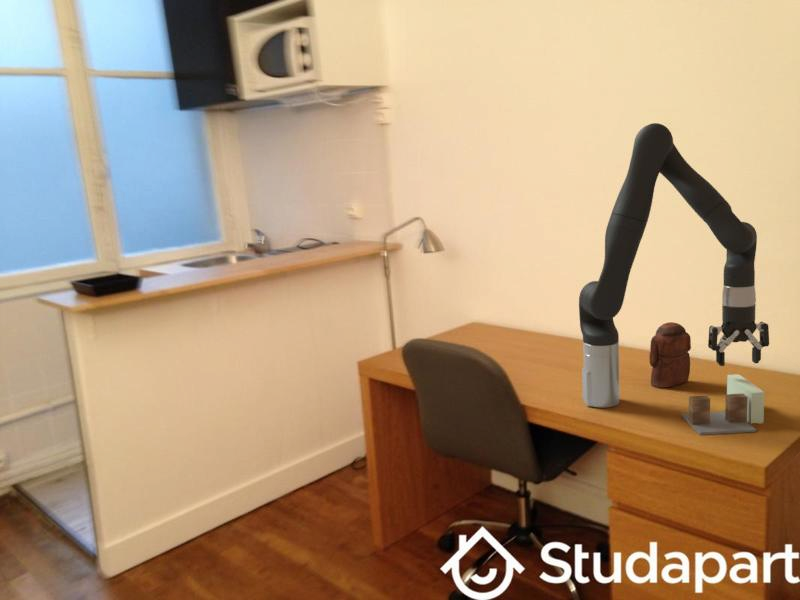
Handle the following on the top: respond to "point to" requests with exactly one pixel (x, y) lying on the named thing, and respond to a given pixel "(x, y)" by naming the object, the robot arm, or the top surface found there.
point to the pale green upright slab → (754, 394)
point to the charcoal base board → (720, 425)
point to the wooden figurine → (670, 355)
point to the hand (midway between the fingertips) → (738, 363)
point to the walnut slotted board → (733, 409)
